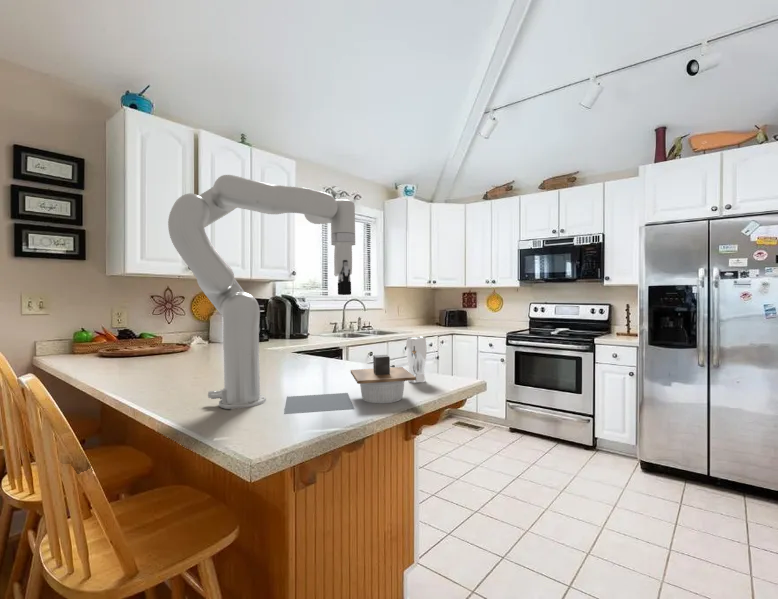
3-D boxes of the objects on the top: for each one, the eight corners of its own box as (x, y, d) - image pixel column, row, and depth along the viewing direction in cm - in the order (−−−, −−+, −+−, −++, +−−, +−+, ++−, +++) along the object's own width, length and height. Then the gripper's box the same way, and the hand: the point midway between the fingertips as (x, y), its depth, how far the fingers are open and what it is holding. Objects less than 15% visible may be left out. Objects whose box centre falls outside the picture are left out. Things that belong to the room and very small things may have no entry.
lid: (357, 383, 111) (357, 362, 111) (350, 372, 127) (350, 353, 127) (415, 380, 115) (415, 358, 115) (402, 369, 130) (401, 350, 130)
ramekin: (367, 408, 112) (367, 382, 112) (353, 397, 125) (353, 374, 125) (412, 403, 117) (412, 378, 117) (394, 392, 130) (394, 370, 129)
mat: (283, 415, 107) (283, 413, 107) (286, 398, 124) (286, 396, 124) (354, 410, 110) (354, 408, 110) (347, 394, 128) (347, 392, 128)
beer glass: (427, 383, 141) (427, 338, 141) (406, 383, 141) (406, 339, 141) (426, 379, 148) (425, 336, 148) (406, 379, 148) (405, 336, 148)
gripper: (329, 243, 140) (330, 294, 140) (333, 236, 123) (334, 295, 123) (352, 243, 141) (353, 294, 141) (358, 236, 124) (359, 294, 124)
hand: (344, 294), depth 132 cm, fingers open, 9 cm apart
